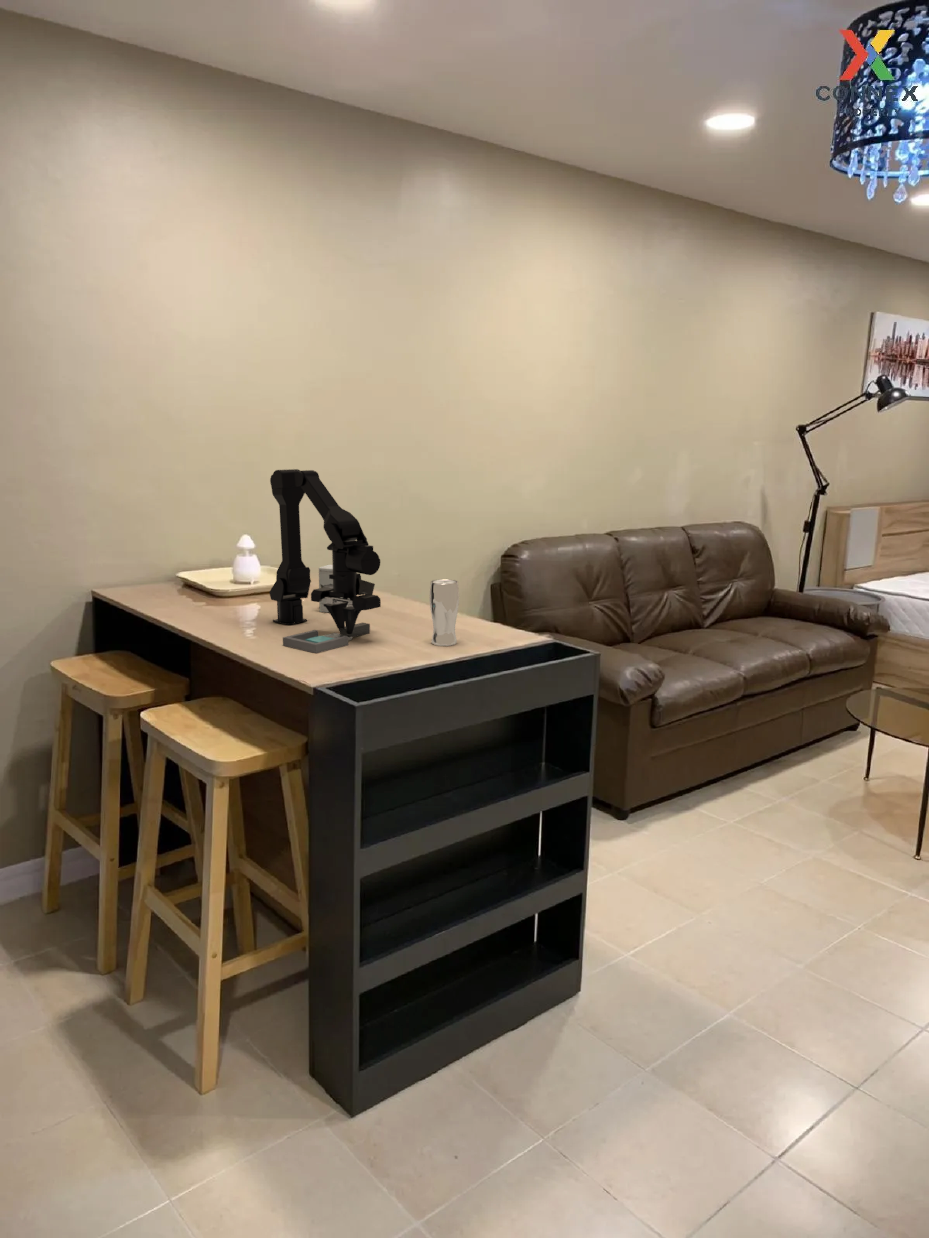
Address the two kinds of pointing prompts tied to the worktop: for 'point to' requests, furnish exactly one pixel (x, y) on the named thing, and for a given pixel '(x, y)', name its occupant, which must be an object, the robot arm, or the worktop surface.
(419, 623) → the worktop surface
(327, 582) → the supplement box
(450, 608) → the beer glass
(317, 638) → the tile
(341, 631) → the turner
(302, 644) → the corral
